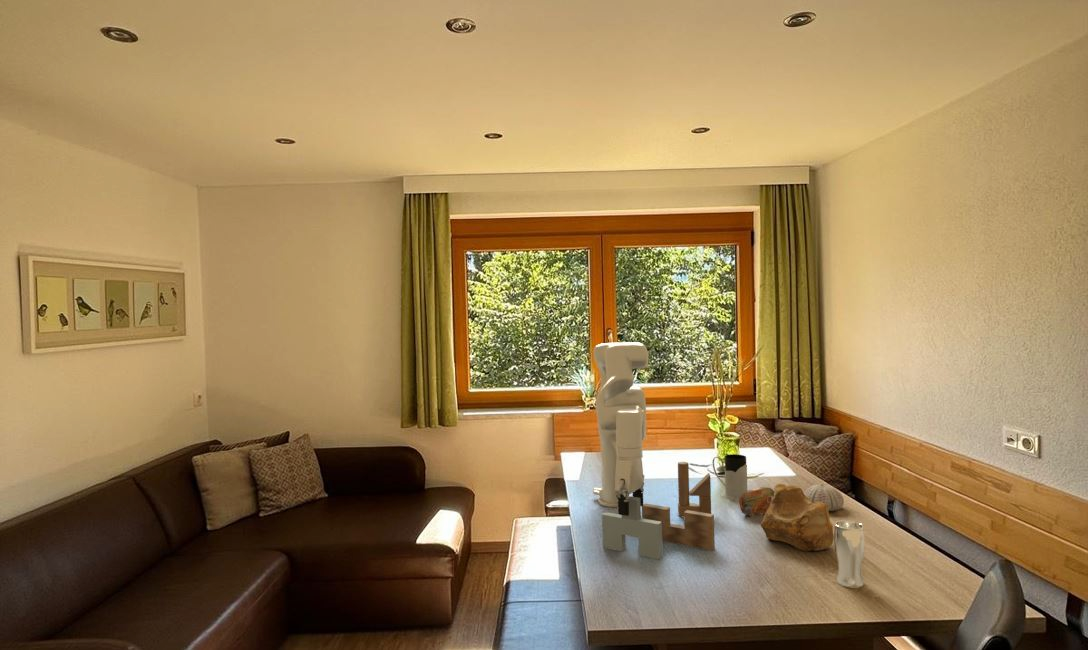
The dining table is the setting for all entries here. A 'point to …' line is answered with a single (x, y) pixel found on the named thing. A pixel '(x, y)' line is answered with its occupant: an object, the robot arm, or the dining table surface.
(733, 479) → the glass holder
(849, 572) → the beer glass
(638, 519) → the grey slotted plate
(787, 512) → the rough brown rock
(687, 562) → the dining table surface
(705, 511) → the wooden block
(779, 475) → the dining table surface
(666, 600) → the dining table surface
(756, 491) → the tin
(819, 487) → the sea urchin shell
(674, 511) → the dining table surface
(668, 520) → the walnut slotted board
